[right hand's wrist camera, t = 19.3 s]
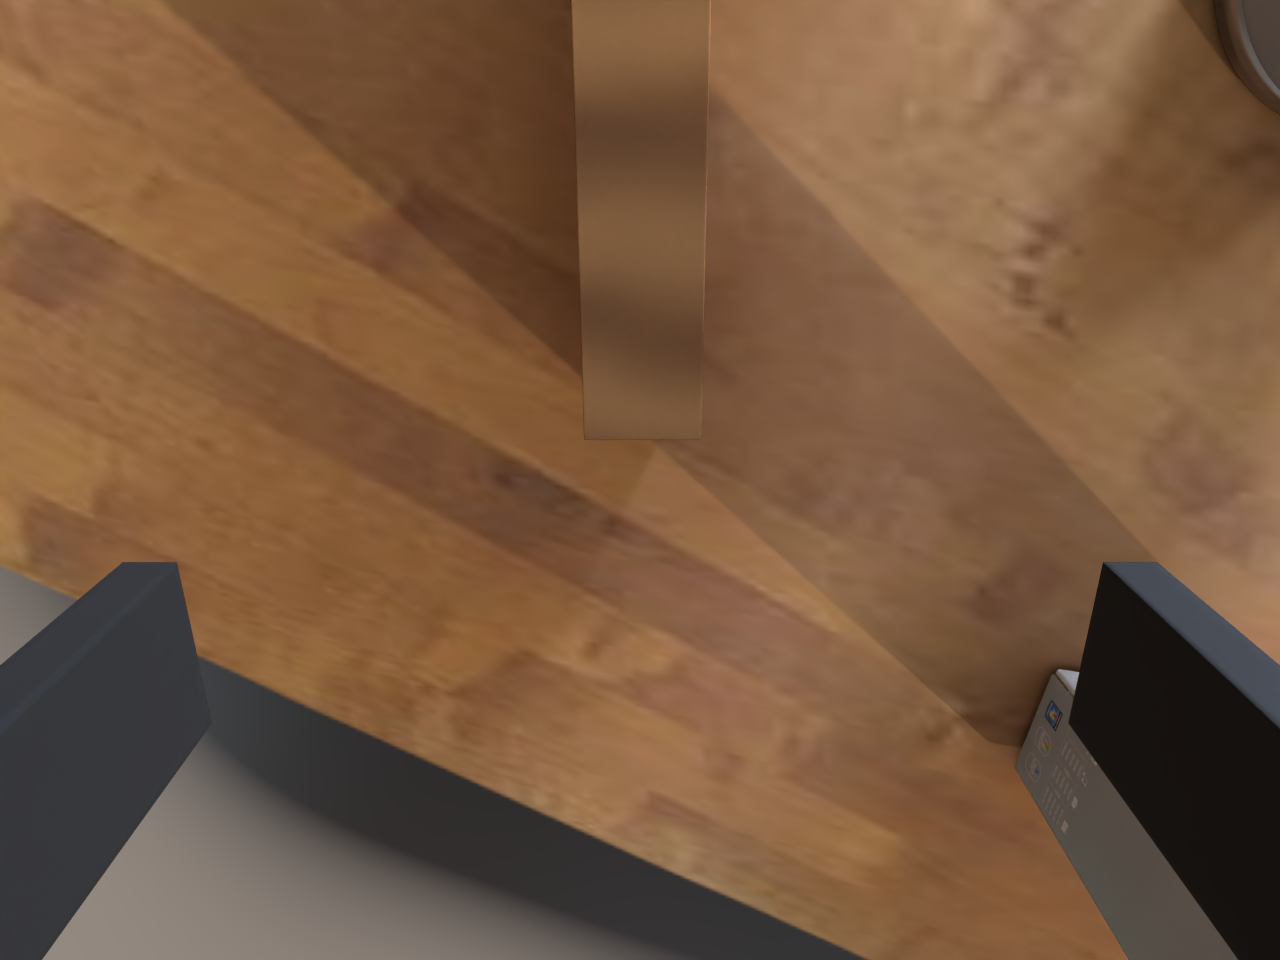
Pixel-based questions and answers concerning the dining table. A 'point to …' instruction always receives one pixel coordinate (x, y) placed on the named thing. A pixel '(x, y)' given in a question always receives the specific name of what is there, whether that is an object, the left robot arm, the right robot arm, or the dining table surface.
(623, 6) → the post
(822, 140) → the dining table surface
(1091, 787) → the hard drive box
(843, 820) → the dining table surface
